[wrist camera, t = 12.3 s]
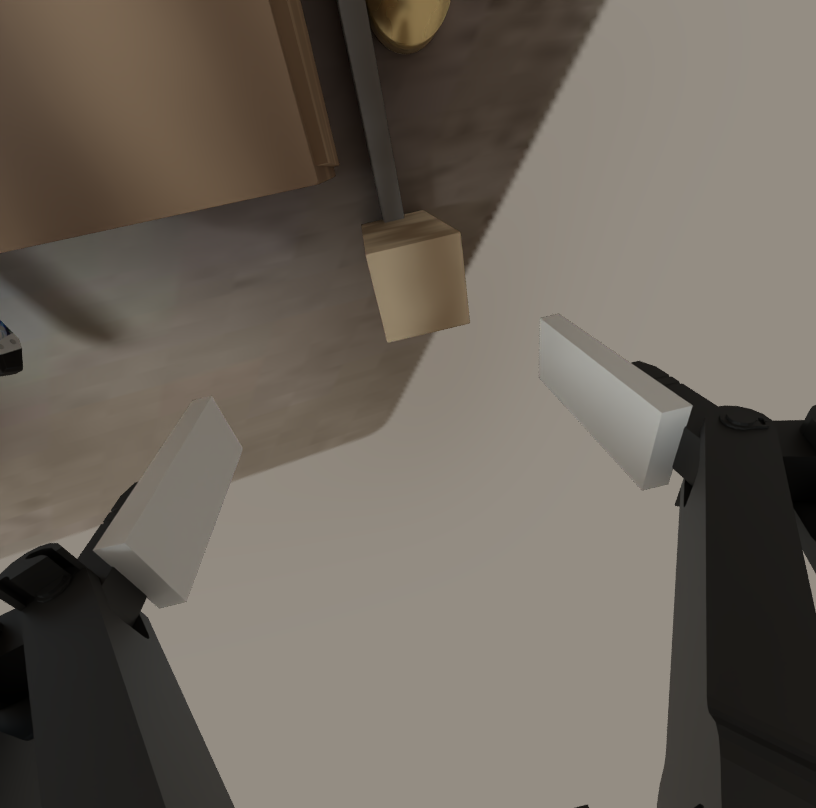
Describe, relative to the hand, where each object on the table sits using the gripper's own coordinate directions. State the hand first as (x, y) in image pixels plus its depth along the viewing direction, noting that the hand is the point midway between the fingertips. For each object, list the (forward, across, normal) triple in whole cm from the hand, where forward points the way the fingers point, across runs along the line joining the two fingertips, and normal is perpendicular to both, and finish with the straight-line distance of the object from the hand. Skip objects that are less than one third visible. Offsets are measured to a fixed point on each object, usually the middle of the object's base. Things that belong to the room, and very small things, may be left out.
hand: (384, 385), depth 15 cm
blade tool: (+19, +3, +9) cm, 21 cm away
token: (+19, +6, +15) cm, 25 cm away
